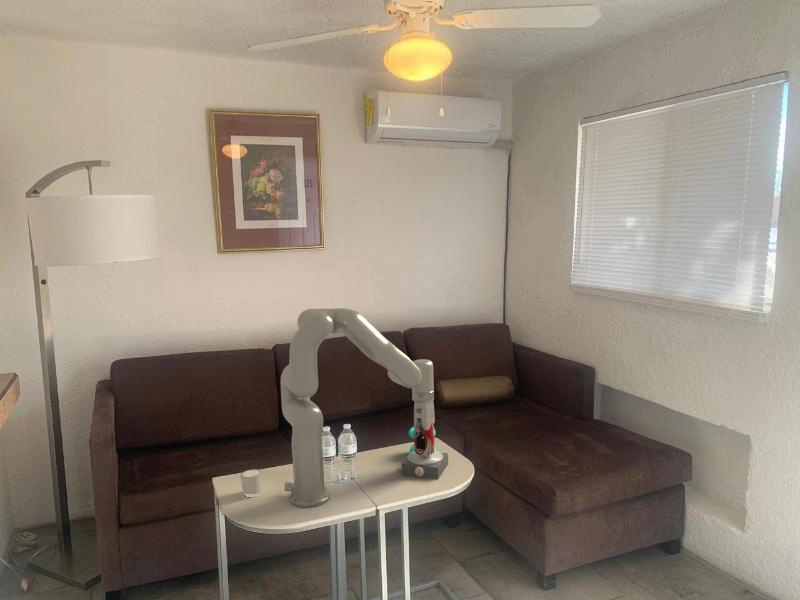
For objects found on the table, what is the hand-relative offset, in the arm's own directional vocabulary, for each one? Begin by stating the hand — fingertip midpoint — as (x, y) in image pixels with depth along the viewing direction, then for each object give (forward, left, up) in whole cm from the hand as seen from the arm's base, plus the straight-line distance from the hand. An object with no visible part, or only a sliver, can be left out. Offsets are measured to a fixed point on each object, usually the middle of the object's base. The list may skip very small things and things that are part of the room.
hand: (424, 444), depth 200 cm
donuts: (-5, +13, -9) cm, 17 cm away
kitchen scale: (0, 0, -9) cm, 9 cm away
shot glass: (-49, -33, -9) cm, 60 cm away
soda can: (0, 0, -4) cm, 4 cm away
